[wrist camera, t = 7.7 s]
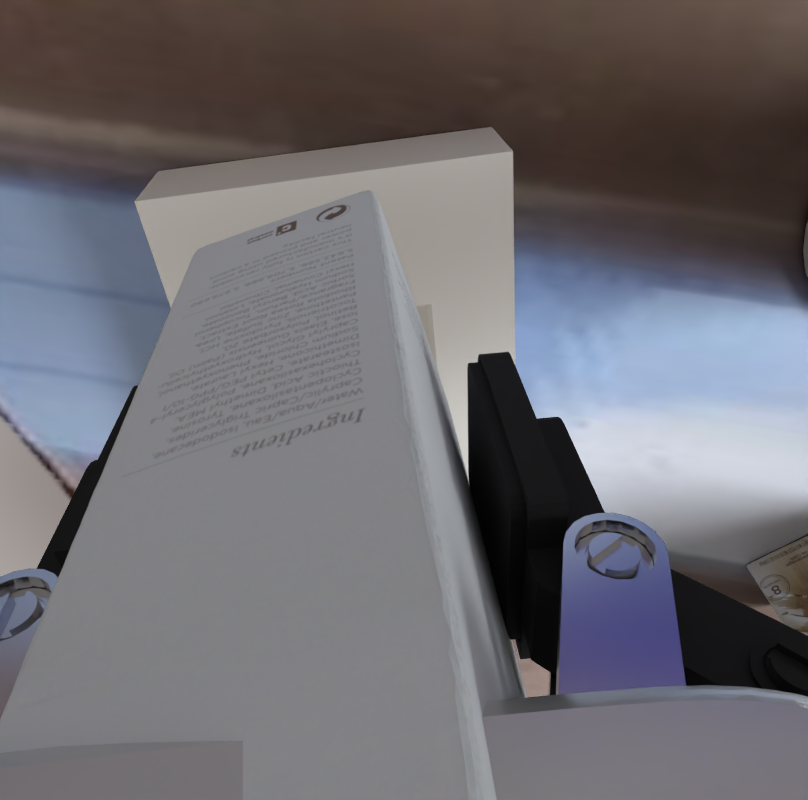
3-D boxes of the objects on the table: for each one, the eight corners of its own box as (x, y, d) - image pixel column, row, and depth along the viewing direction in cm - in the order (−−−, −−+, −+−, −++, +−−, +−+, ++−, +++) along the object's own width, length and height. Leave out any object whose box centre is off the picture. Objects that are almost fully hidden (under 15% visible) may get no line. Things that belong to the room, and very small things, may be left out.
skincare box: (186, 247, 14) (-217, 989, 4) (385, 175, 13) (487, 832, 3) (302, 456, 17) (238, 1136, 7) (464, 407, 17) (630, 1071, 7)
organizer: (491, 126, 28) (513, 150, 24) (501, 482, 39) (517, 532, 36) (158, 170, 27) (134, 201, 24) (266, 515, 39) (260, 568, 35)
